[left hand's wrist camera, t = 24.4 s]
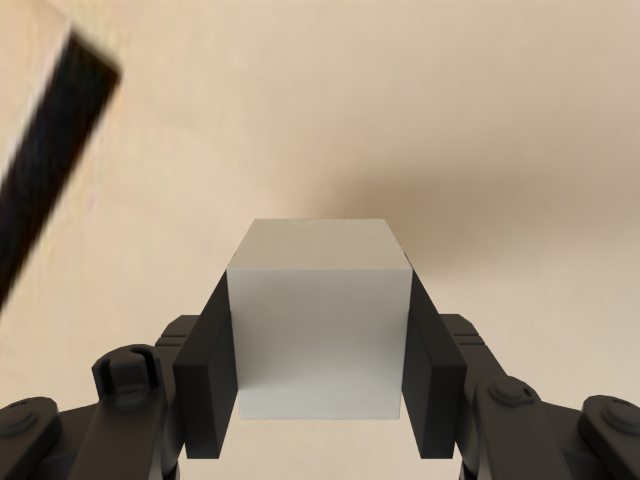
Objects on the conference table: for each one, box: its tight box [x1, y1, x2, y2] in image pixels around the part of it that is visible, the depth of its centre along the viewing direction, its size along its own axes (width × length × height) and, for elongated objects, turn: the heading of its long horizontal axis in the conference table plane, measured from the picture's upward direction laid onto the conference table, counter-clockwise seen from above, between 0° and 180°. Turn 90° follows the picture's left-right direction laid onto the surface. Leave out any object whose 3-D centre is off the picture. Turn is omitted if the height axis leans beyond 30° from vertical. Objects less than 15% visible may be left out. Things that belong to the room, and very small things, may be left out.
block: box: [226, 219, 413, 419], centre depth 13 cm, size 5×5×4 cm
